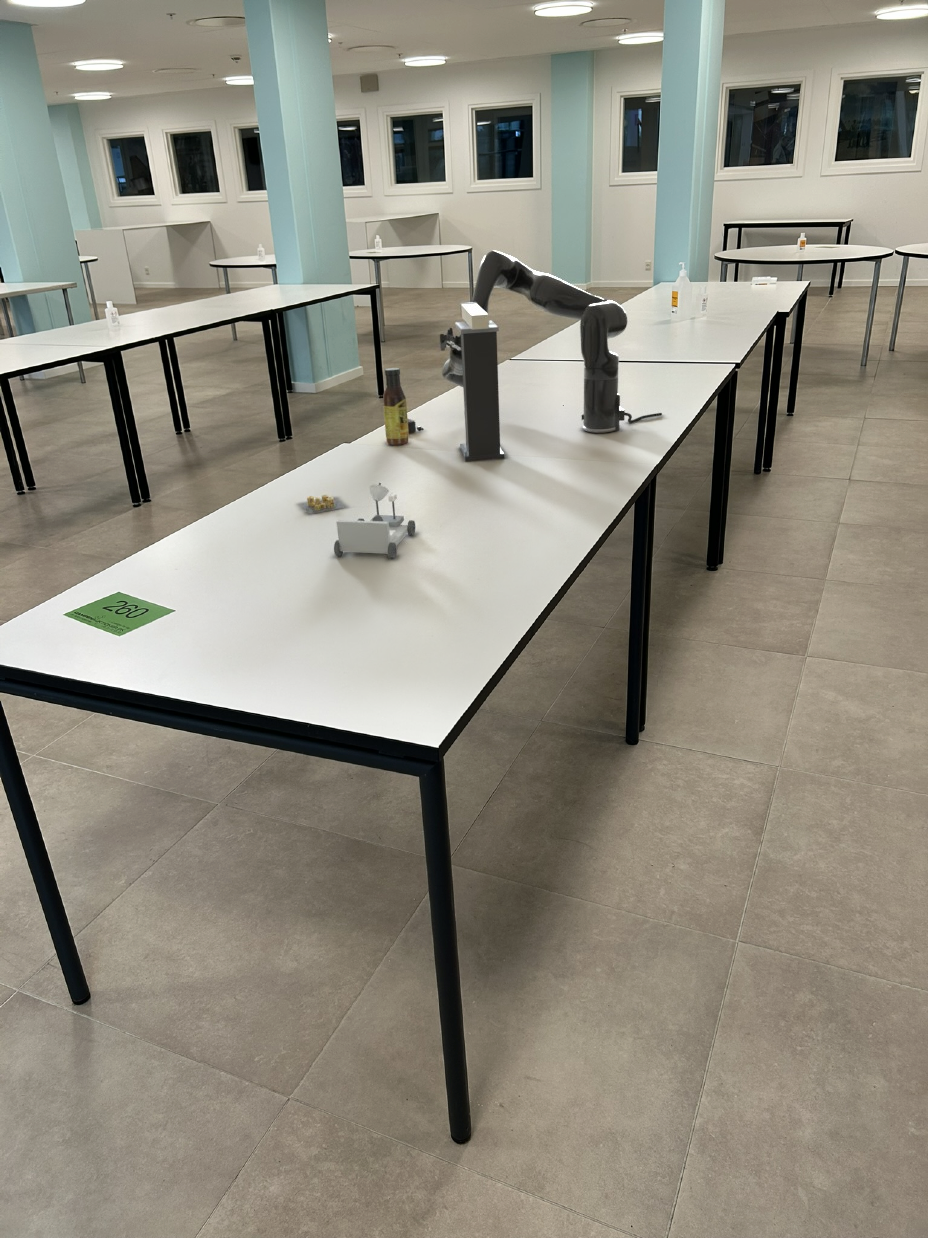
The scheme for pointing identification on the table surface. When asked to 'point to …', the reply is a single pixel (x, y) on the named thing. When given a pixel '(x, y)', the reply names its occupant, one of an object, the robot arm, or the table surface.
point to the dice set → (321, 504)
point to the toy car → (373, 530)
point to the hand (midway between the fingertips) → (467, 329)
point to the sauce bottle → (395, 409)
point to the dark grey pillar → (480, 392)
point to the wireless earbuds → (413, 426)
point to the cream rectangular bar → (474, 315)
